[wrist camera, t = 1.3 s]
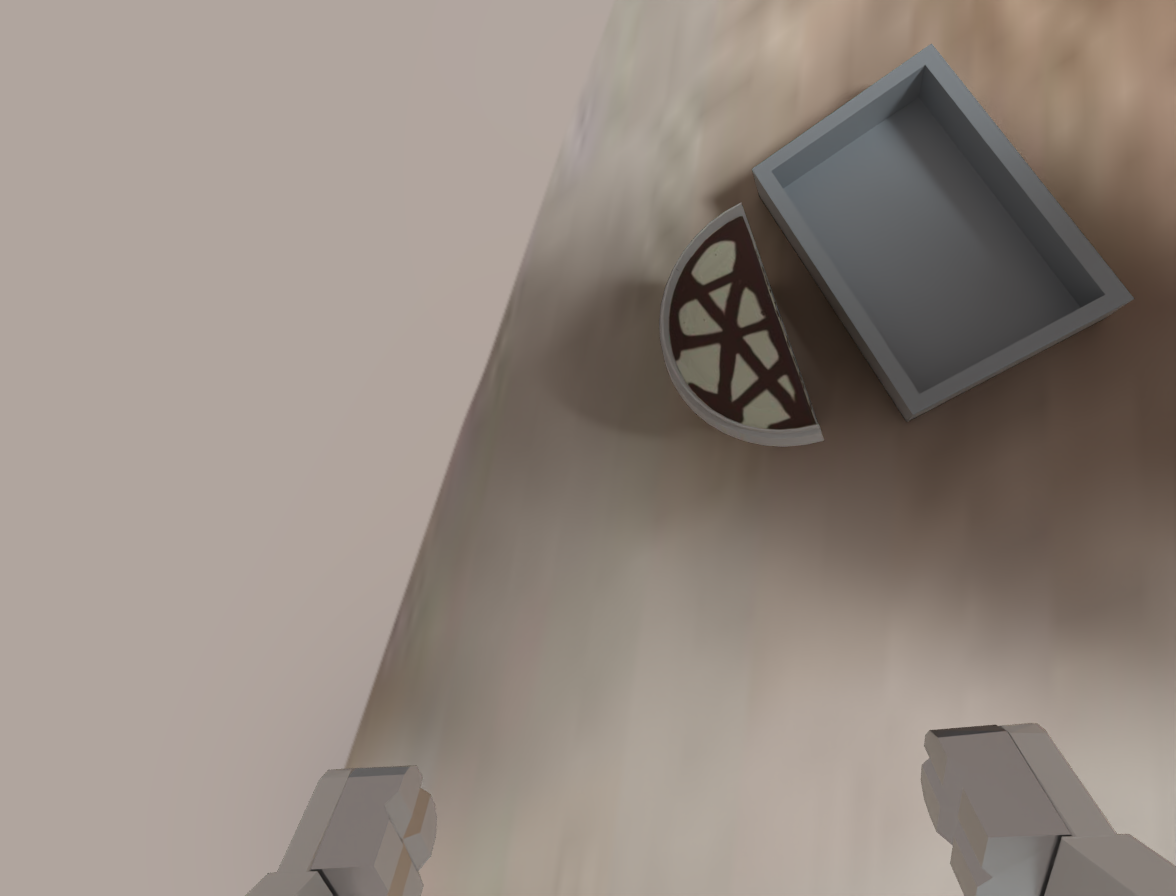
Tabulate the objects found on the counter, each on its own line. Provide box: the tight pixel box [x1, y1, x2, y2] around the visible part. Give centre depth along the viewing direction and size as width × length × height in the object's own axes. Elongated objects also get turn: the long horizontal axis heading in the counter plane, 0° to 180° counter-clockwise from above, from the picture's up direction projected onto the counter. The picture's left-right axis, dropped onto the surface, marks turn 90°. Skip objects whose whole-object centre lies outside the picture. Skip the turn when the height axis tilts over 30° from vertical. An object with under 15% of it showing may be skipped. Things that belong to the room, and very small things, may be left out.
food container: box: [659, 203, 824, 447], centre depth 35 cm, size 12×6×10 cm, turn 17°
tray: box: [752, 44, 1134, 422], centre depth 34 cm, size 11×17×4 cm, turn 28°
